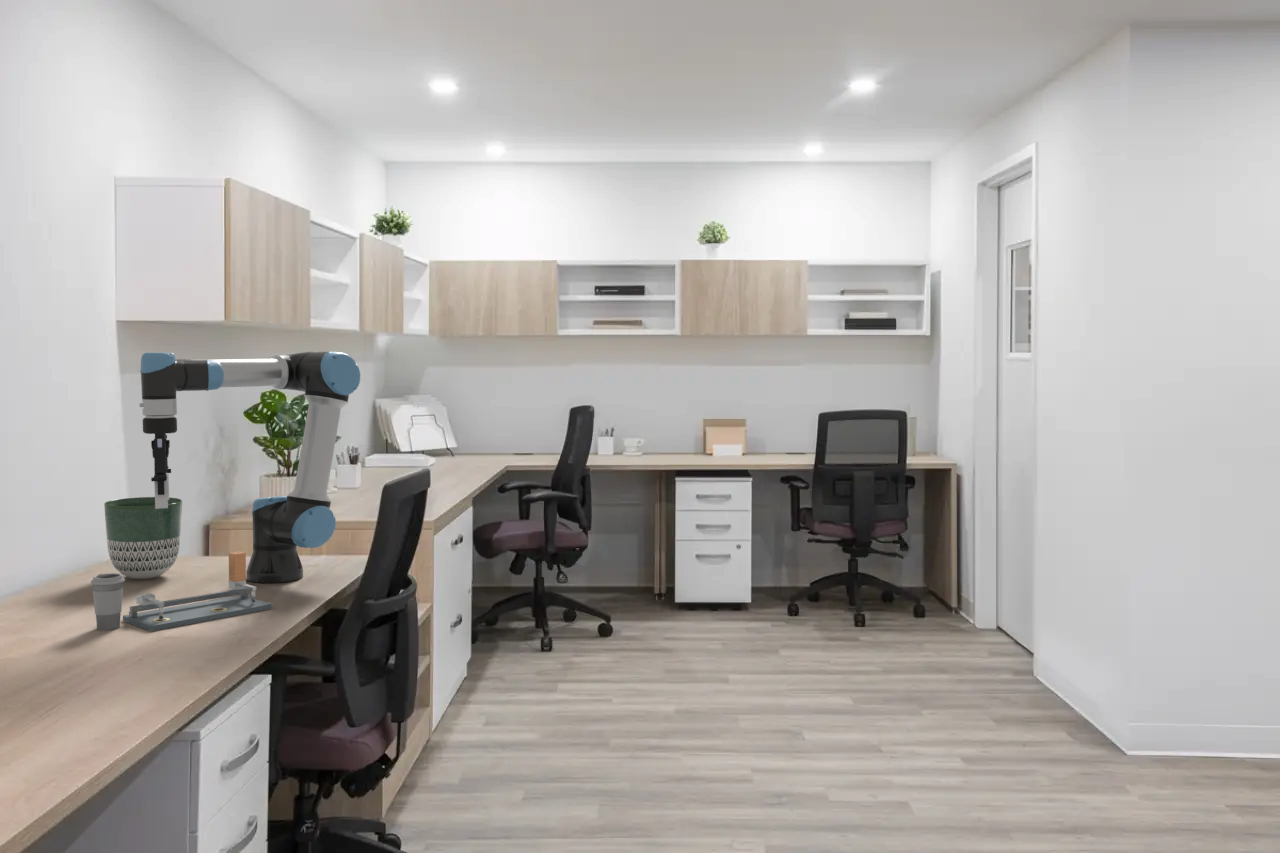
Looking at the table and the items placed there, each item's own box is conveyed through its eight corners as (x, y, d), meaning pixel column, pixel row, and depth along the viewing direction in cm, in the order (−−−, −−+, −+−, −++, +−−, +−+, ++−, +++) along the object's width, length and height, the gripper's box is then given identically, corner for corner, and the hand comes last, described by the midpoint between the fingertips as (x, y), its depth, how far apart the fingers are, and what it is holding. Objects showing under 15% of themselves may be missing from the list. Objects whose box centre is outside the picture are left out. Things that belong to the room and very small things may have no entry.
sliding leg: (239, 595, 265) (239, 551, 264) (259, 601, 259) (259, 556, 258) (228, 597, 262) (228, 552, 262) (248, 603, 256) (248, 557, 256)
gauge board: (242, 599, 267) (242, 594, 267) (272, 608, 258) (272, 603, 258) (122, 620, 244) (122, 615, 244) (151, 631, 235) (150, 625, 235)
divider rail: (243, 596, 266) (243, 577, 265) (264, 602, 260) (263, 583, 259) (127, 616, 243) (127, 596, 243) (146, 623, 237) (146, 603, 237)
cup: (113, 622, 242) (112, 571, 241) (132, 626, 239) (131, 574, 238) (84, 629, 236) (83, 576, 235) (103, 633, 233) (102, 580, 232)
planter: (175, 584, 283) (174, 505, 282) (97, 586, 279) (96, 507, 277) (188, 569, 302) (187, 496, 301) (115, 571, 297) (114, 497, 296)
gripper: (144, 413, 260) (147, 497, 262) (139, 420, 238) (142, 512, 239) (177, 412, 263) (180, 496, 265) (175, 419, 240) (178, 510, 242)
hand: (162, 504), depth 252 cm, fingers open, 13 cm apart
